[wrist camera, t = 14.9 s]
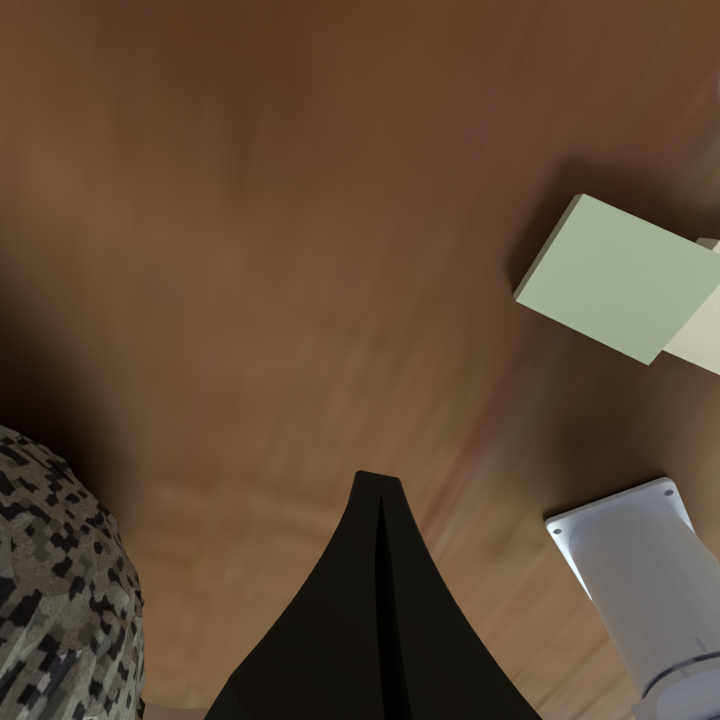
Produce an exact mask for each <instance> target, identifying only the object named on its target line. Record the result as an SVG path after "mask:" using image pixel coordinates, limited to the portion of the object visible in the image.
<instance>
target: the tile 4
mask: <svg viewBox="0 0 720 720" xmlns="http://www.w3.org/2000/svg"><path fill="white" fill-rule="evenodd" d="M695 243H696V244H698V245H700V246H703V247H705V248H707V249H709V250H712V251H714V252H716V253H718V254H720V240H715V239H707V238H698V239H697V241H696V242H695ZM663 350H664V351H666V352H668V353H671V354H673V355H675V356H678V357H680V358H682V359H684V360H687V361H689V362H691V363H694V364H696V365H698V366H700V367H703V368H705V369H707V370H709V371H712V372H714V373H716V374H719V375H720V284H719V286H718V287H717V288H716V289H715V290H714V291H713V292H712V294H711V295H710V296H709V297H708V298H707V299H706V300H705V302H704V303H703V304H702V305H701V306H700V307H699V308H698V310H697V311H696V312H695V313H694V314H693V315H692V316H691V318H690V319H689V320H688V321H687V322H686V323H685V324H684V326H683V327H682V328H681V329H680V330H679V331H678V332H677V334H676V335H675V336H674V337H673V338H672V339H671V340H670V342H669V343H668V344H667V345H666V346H665V347H664V348H663Z"/></svg>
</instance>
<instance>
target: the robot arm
mask: <svg viewBox="0 0 720 720" xmlns="http://www.w3.org/2000/svg"><path fill="white" fill-rule="evenodd" d="M545 526H546V528H547V530H548V531H549V533H550V535H551V536H552V538H553V540H554V541H555V543H556V544H557V546H558V548H559V549H560V551H561V552H562V554H563V556H564V557H565V559H566V560H567V562H568V564H569V565H570V567H571V568H572V570H573V572H574V573H575V575H576V576H577V578H578V580H579V581H580V583H581V584H582V586H583V588H584V589H585V591H586V592H587V594H588V596H589V597H590V599H591V600H592V601H593V603H594V605H595V607H596V609H597V611H598V613H599V615H600V617H601V619H602V621H603V623H604V625H605V627H606V629H607V631H608V633H609V635H610V637H611V639H612V642H613V644H614V646H615V648H616V650H617V652H618V654H619V656H620V658H621V660H622V662H623V664H624V666H625V668H626V670H627V672H628V674H629V676H630V678H631V680H632V683H633V685H634V687H635V689H636V691H637V693H638V695H639V697H640V699H641V701H640V702H639V703H637V704H635V705H633V706H631V710H632V712H633V714H634V716H635V718H636V720H720V562H719V561H718V560H717V559H716V558H715V557H714V555H713V554H712V553H711V552H710V551H709V550H708V548H707V547H706V546H705V545H704V544H703V543H702V542H701V540H700V539H699V538H698V537H697V536H696V534H695V531H694V529H693V527H692V524H691V522H690V519H689V517H688V514H687V512H686V510H685V507H684V505H683V502H682V500H681V497H680V495H679V492H678V490H677V488H676V485H675V483H674V482H673V481H672V480H671V479H670V478H668V477H663V478H659V479H656V480H653V481H651V482H648V483H645V484H642V485H640V486H637V487H634V488H631V489H628V490H626V491H623V492H620V493H617V494H615V495H612V496H609V497H606V498H604V499H601V500H598V501H595V502H592V503H590V504H587V505H584V506H581V507H579V508H576V509H573V510H570V511H567V512H565V513H562V514H559V515H556V516H554V517H551V518H549V519H547V520H546V521H545ZM204 720H542V718H541V717H540V716H539V715H538V714H537V713H536V711H535V710H534V709H533V708H532V707H531V706H530V704H529V703H528V702H527V701H526V700H525V698H524V697H523V696H522V695H521V694H520V693H519V691H518V690H517V689H516V687H515V686H514V685H513V684H512V682H511V681H510V680H509V678H508V677H507V676H506V674H505V673H504V672H503V671H502V669H501V668H500V667H499V665H498V664H497V663H496V661H495V660H494V658H493V657H492V655H491V654H490V653H489V651H488V650H487V648H486V647H485V645H484V644H483V643H482V641H481V640H480V638H479V637H478V636H477V634H476V633H475V631H474V630H473V628H472V627H471V625H470V624H469V622H468V621H467V619H466V618H465V616H464V614H463V613H462V611H461V610H460V608H459V606H458V605H457V603H456V602H455V600H454V598H453V596H452V595H451V593H450V591H449V590H448V588H447V586H446V584H445V583H444V581H443V579H442V577H441V575H440V573H439V571H438V570H437V568H436V566H435V564H434V562H433V560H432V558H431V556H430V554H429V552H428V549H427V547H426V545H425V543H424V541H423V539H422V536H421V534H420V532H419V529H418V527H417V525H416V523H415V520H414V518H413V515H412V513H411V510H410V507H409V505H408V502H407V499H406V496H405V494H404V490H403V487H402V484H401V481H400V480H399V478H396V477H391V476H386V475H381V474H376V473H371V472H366V471H361V470H360V471H358V472H356V474H355V478H354V482H353V486H352V489H351V493H350V497H349V501H348V505H347V507H346V509H345V512H344V514H343V516H342V518H341V521H340V523H339V525H338V527H337V529H336V531H335V532H334V534H333V536H332V538H331V540H330V542H329V544H328V546H327V547H326V549H325V551H324V553H323V554H322V556H321V558H320V559H319V561H318V563H317V564H316V566H315V567H314V569H313V570H312V572H311V574H310V575H309V577H308V578H307V580H306V581H305V583H304V584H303V585H302V587H301V588H300V590H299V591H298V593H297V594H296V596H295V597H294V598H293V600H292V601H291V603H290V604H289V605H288V607H287V608H286V609H285V610H284V612H283V613H282V614H281V616H280V617H279V618H278V619H277V621H276V622H275V623H274V625H273V626H272V627H271V628H270V630H269V631H268V632H267V634H266V635H265V636H264V637H263V638H262V640H261V641H260V642H259V643H258V644H257V646H256V647H255V648H254V649H253V650H252V651H251V652H250V654H249V655H248V656H247V657H246V658H245V659H244V660H243V662H242V663H241V664H240V665H239V666H238V667H237V668H236V670H235V671H234V672H233V673H232V674H231V676H230V677H229V679H228V681H227V683H226V684H225V686H224V687H223V689H222V690H221V692H220V694H219V695H218V697H217V698H216V700H215V701H214V703H213V705H212V706H211V708H210V710H209V711H208V713H207V715H206V716H205V718H204Z"/></svg>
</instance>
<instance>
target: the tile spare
mask: <svg viewBox="0 0 720 720" xmlns="http://www.w3.org/2000/svg"><path fill="white" fill-rule="evenodd" d="M719 284H720V254H718V253H716V252H714V251H712V250H709V249H707V248H705V247H703V246H700V245H698V244H696V243H694V242H691V241H689V240H687V239H685V238H682V237H680V236H678V235H676V234H673V233H671V232H669V231H667V230H664V229H662V228H660V227H658V226H655V225H653V224H651V223H649V222H646V221H644V220H642V219H640V218H637V217H635V216H633V215H631V214H629V213H626V212H624V211H622V210H620V209H617V208H615V207H613V206H611V205H608V204H606V203H604V202H602V201H599V200H597V199H595V198H593V197H590V196H588V195H586V194H579V195H575V196H574V197H573V199H572V201H571V202H570V204H569V205H568V207H567V209H566V210H565V212H564V213H563V215H562V217H561V218H560V220H559V221H558V223H557V225H556V226H555V228H554V229H553V231H552V233H551V234H550V236H549V238H548V239H547V241H546V242H545V244H544V246H543V247H542V249H541V250H540V252H539V254H538V255H537V257H536V258H535V260H534V262H533V263H532V265H531V266H530V268H529V270H528V271H527V273H526V274H525V276H524V278H523V279H522V281H521V283H520V284H519V286H518V287H517V289H516V291H515V292H514V294H513V296H514V298H515V301H516V302H519V303H521V304H523V305H525V306H527V307H529V308H531V309H533V310H535V311H537V312H539V313H541V314H543V315H545V316H547V317H549V318H552V319H554V320H556V321H558V322H560V323H562V324H564V325H566V326H568V327H570V328H572V329H574V330H576V331H578V332H580V333H582V334H585V335H587V336H589V337H591V338H593V339H595V340H597V341H599V342H601V343H603V344H605V345H607V346H609V347H611V348H613V349H615V350H618V351H620V352H622V353H624V354H626V355H628V356H630V357H632V358H634V359H636V360H638V361H640V362H642V363H644V364H646V365H648V366H649V364H650V363H651V362H652V361H653V360H654V359H655V358H656V356H657V355H658V354H659V353H660V352H661V351H662V350H663V348H664V347H665V346H666V345H667V344H668V343H669V342H670V340H671V339H672V338H673V337H674V336H675V335H676V334H677V332H678V331H679V330H680V329H681V328H682V327H683V326H684V324H685V323H686V322H687V321H688V320H689V319H690V318H691V316H692V315H693V314H694V313H695V312H696V311H697V310H698V308H699V307H700V306H701V305H702V304H703V303H704V302H705V300H706V299H707V298H708V297H709V296H710V295H711V294H712V292H713V291H714V290H715V289H716V288H717V287H718V286H719Z"/></svg>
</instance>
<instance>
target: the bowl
mask: <svg viewBox="0 0 720 720" xmlns="http://www.w3.org/2000/svg"><path fill="white" fill-rule="evenodd" d="M144 603H145V601H144V600H143V598H142V597H141V589H140V584H139V580H138V575H137V573H136V570H135V568H134V566H133V564H132V563H131V561H130V560H129V558H128V557H127V555H126V552H125V550H124V547H123V545H122V542H121V539H120V536H119V531H118V523H117V520H116V519H115V518H114V517H113V515H112V514H111V513H110V512H109V511H108V510H107V509H106V508H105V507H104V506H103V505H102V504H101V503H100V502H99V501H98V500H97V499H96V498H95V497H94V496H93V494H92V493H91V492H90V491H89V490H88V489H87V488H86V487H85V486H84V485H83V484H82V483H81V482H80V481H79V480H77V479H76V478H75V476H74V474H73V473H72V471H71V469H70V468H69V466H68V464H67V463H66V461H65V459H63V458H61V457H59V456H57V455H55V454H53V453H52V452H51V451H50V450H49V449H48V448H47V447H45V446H43V445H41V444H39V443H37V442H35V441H33V440H31V439H29V438H27V437H25V436H23V435H20V433H19V432H16V431H14V430H11V429H8V428H6V427H4V426H2V425H0V720H142V718H143V714H144V708H145V703H144V702H143V700H142V699H141V697H140V695H141V692H142V690H143V687H144V684H145V681H146V677H145V668H144V643H145V637H144V633H143V629H142V608H143V605H144Z"/></svg>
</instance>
